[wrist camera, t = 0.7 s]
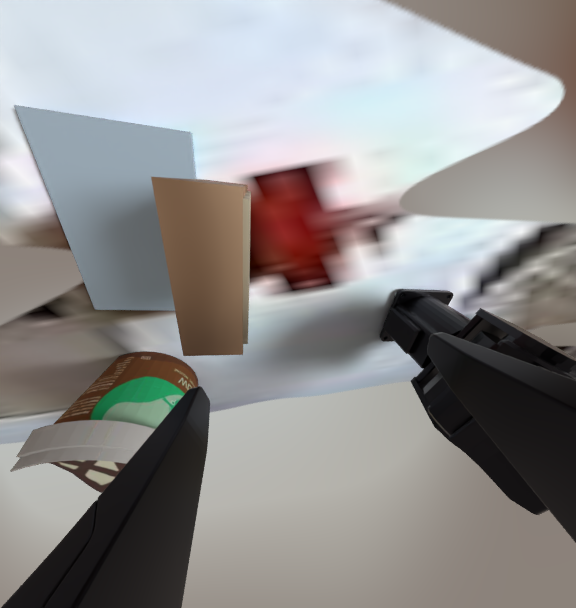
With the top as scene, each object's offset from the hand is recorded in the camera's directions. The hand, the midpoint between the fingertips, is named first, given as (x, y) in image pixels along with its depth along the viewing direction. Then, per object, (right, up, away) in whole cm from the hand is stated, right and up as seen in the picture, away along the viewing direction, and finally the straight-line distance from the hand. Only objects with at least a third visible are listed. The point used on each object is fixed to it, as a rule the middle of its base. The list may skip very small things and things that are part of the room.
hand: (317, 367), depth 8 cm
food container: (-13, -5, +15) cm, 21 cm away
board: (-12, +8, +8) cm, 16 cm away
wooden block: (-6, +8, +9) cm, 13 cm away
